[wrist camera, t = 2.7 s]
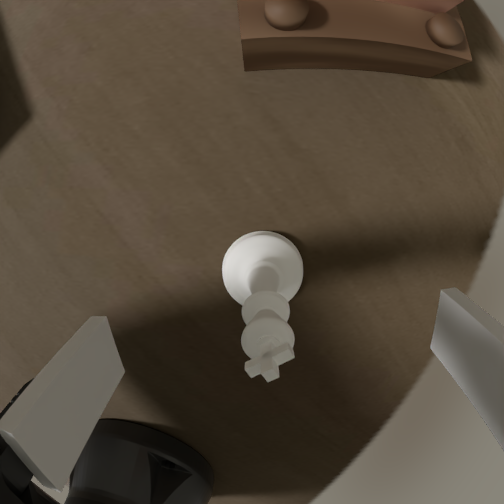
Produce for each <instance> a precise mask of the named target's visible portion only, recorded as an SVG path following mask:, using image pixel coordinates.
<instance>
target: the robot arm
mask: <svg viewBox="0 0 504 504" xmlns="http://www.w3.org/2000/svg"><path fill="white" fill-rule="evenodd" d="M430 348H431V350H432V351H433V352H434V354H435V355H436V356H437V357H438V359H439V360H440V361H441V363H442V364H443V365H444V366H445V368H446V369H447V370H448V372H449V373H450V374H451V376H452V377H453V378H454V379H455V381H456V382H457V384H458V385H459V386H460V388H461V389H462V391H463V392H464V393H465V395H466V396H467V397H468V399H469V400H470V402H471V403H472V404H473V406H474V407H475V409H476V410H477V411H478V413H479V414H480V416H481V417H482V419H483V420H484V422H485V423H486V425H487V426H488V428H489V429H490V431H491V432H492V434H493V435H494V436H495V438H496V440H497V441H498V443H499V444H500V446H501V447H502V449H503V451H504V326H503V325H502V324H501V323H500V322H498V321H497V320H496V319H495V318H494V317H492V316H491V315H490V314H489V313H487V312H486V311H485V310H484V309H482V308H481V307H480V306H479V305H477V304H476V303H475V302H474V301H472V300H471V299H470V298H469V297H467V296H466V295H465V294H463V293H462V292H461V291H460V290H458V289H457V288H456V287H455V288H449V289H443V290H441V293H440V299H439V305H438V311H437V317H436V322H435V327H434V332H433V337H432V342H431V346H430ZM124 373H125V370H124V367H123V365H122V362H121V359H120V356H119V353H118V350H117V347H116V345H115V342H114V338H113V335H112V332H111V329H110V326H109V323H108V319H107V316H91V317H90V318H89V319H88V320H87V321H86V322H85V323H84V324H83V325H82V326H81V327H80V328H79V330H78V331H77V332H76V333H75V334H74V335H73V336H72V337H71V338H70V339H69V340H68V341H67V342H66V343H65V345H64V346H63V347H62V348H61V349H60V350H59V351H58V352H57V353H56V354H55V356H54V357H53V358H52V359H51V360H50V361H49V362H48V363H47V365H46V366H45V367H44V368H43V369H42V370H41V371H40V372H39V374H38V375H37V376H36V377H35V378H33V379H32V380H30V381H29V382H27V383H26V384H25V385H24V386H23V387H22V388H21V389H20V391H19V392H18V393H17V395H15V396H14V398H13V399H12V400H11V403H10V402H9V404H8V405H7V406H6V407H5V408H4V410H3V411H2V412H1V413H0V504H60V503H59V502H57V501H56V500H54V499H53V498H52V497H51V496H49V495H48V494H47V493H45V492H44V491H43V490H42V489H40V488H39V487H38V486H37V485H36V484H34V483H33V482H32V481H31V479H32V477H33V475H34V476H35V477H36V478H37V479H38V480H39V482H40V483H41V484H42V485H43V486H46V487H48V488H50V489H53V490H55V491H58V492H60V493H61V492H62V490H63V488H64V486H65V484H66V482H67V480H68V478H69V476H70V482H69V493H68V497H67V499H66V501H65V503H64V504H207V503H208V502H209V500H210V498H211V495H212V490H213V481H214V474H213V471H212V468H211V467H210V465H209V464H208V462H207V461H206V460H205V459H204V458H203V457H202V456H201V455H200V454H198V453H197V452H196V451H195V450H193V449H192V448H190V447H189V446H187V445H186V444H184V443H182V442H180V441H179V440H177V439H175V438H173V437H171V436H168V435H166V434H164V433H162V432H159V431H156V430H154V429H151V428H148V427H145V426H142V425H138V424H134V423H130V422H125V421H119V420H99V418H100V416H101V414H102V413H103V411H104V409H105V407H106V405H107V403H108V402H109V400H110V398H111V396H112V394H113V393H114V391H115V389H116V387H117V386H118V384H119V382H120V380H121V378H122V377H123V375H124Z"/></svg>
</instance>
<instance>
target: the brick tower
mask: <svg viewBox="0 0 504 504" xmlns="http://www.w3.org/2000/svg"><path fill="white" fill-rule="evenodd" d="M463 1H464V0H237V3H238V13H239V22H240V32H241V42H242V51H243V60H244V69H245V71H255V70H271V69H298V68H325V69H352V70H367V71H379V72H389V73H397V74H405V75H412V76H419V77H425V78H430V77H433V76H435V75H438V74H440V73H443V72H445V71H448V70H450V69H453V68H455V67H458V66H461V65H463V64H466V63H469V62H471V61H472V57H471V53H470V49H469V45H468V41H467V37H466V33H465V30H464V27H463V23H462V20H461V17H460V14H459V11H458V8H457V5H458V4H459V3H461V2H463Z"/></svg>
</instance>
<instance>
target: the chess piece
mask: <svg viewBox="0 0 504 504" xmlns="http://www.w3.org/2000/svg"><path fill="white" fill-rule="evenodd" d="M222 275H223V281H224V284H225V287H226V289H227V291H228V292H229V294H230V295H231V296H232V298H233V299H234V300H236V301H237V302H238V303H240V304H241V305H243V306H242V318H243V320H244V322H245V324H246V325H247V326H246V327H245V329H244V330H243V333H242V336H241V345H242V348H243V350H244V352H245V353H246V355H247V356H249V357H250V358H251V360H249V361H247V362H245V371H246V372H247V373H248V375H249V376H250V377H251V378H252V377H255V376H257V375H259V374H261V375H262V376H263V377H264V378H265V380H266V381H267V382H270V381H272V380H274V379H277V378H279V367H278V366H279V365H281V364H283V363H285V362H287V361H289V360H291V359H293V358H295V356H294V351H293V349H292V348H293V346H294V342H295V337H294V333H293V330H292V328H291V327H290V326H289V324H288V323H287V321H288V318H289V315H290V307H289V304H288V301H290V300H291V299H292V298H293V297H294V296H295V294H296V293H297V291H298V290H299V288H300V286H301V283H302V279H303V262H302V258H301V255H300V253H299V251H298V249H297V248H296V247H295V245H294V244H293V243H292V242H291V241H290V240H288V239H287V238H286V237H284V236H282V235H280V234H278V233H275V232H270V231H256V232H252V233H248V234H246V235H244V236H242V237H240V238H239V239H237V240H236V241H235V242H234V243H233V244H232V245H231V246H230V247H229V249H228V250H227V252H226V254H225V257H224V260H223V264H222Z"/></svg>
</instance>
